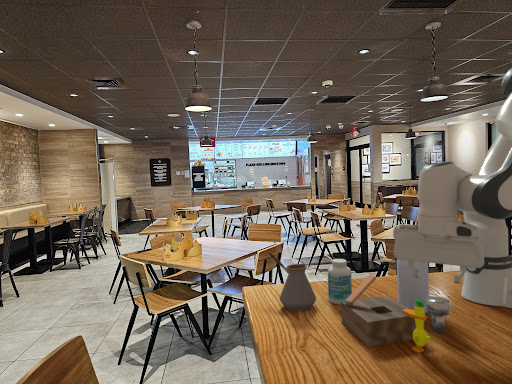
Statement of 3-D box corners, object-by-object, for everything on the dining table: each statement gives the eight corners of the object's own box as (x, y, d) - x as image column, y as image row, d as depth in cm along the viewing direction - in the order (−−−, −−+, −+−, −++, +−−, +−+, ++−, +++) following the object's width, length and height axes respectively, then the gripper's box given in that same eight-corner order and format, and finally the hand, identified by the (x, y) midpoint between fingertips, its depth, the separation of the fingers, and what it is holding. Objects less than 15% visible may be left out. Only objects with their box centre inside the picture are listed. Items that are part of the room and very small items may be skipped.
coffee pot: (324, 307, 107) (322, 260, 106) (295, 317, 101) (293, 266, 100) (283, 290, 125) (281, 249, 124) (256, 297, 119) (254, 254, 118)
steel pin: (439, 325, 91) (438, 295, 91) (455, 333, 86) (454, 302, 86) (422, 327, 90) (421, 298, 90) (437, 336, 85) (436, 305, 85)
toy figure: (399, 346, 81) (398, 296, 81) (409, 341, 83) (407, 293, 83) (426, 358, 76) (425, 305, 75) (436, 353, 77) (434, 301, 77)
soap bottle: (389, 308, 104) (387, 230, 103) (410, 301, 108) (408, 226, 107) (414, 317, 97) (412, 234, 95) (436, 310, 101) (434, 230, 100)
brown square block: (386, 316, 98) (386, 295, 98) (420, 338, 85) (419, 314, 84) (341, 323, 95) (341, 301, 95) (368, 346, 82) (368, 322, 81)
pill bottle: (328, 305, 109) (326, 263, 108) (329, 297, 116) (327, 257, 115) (352, 306, 107) (351, 263, 106) (351, 297, 114) (350, 257, 114)
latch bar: (372, 276, 95) (369, 273, 95) (377, 278, 93) (374, 275, 92) (346, 304, 94) (343, 301, 93) (350, 307, 91) (347, 304, 91)
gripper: (391, 225, 89) (390, 277, 90) (485, 231, 79) (484, 290, 79) (395, 222, 95) (395, 271, 96) (484, 227, 84) (483, 282, 85)
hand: (436, 280), depth 87 cm, fingers open, 8 cm apart
